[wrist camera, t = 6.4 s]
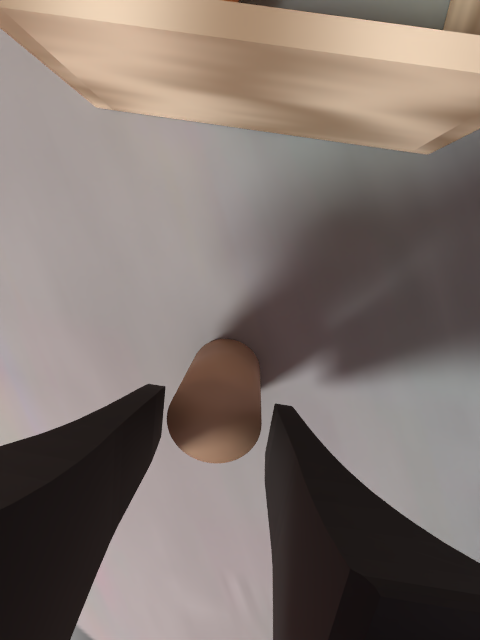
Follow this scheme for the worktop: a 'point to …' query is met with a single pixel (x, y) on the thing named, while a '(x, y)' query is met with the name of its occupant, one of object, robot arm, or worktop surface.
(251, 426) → the lid
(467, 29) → the box
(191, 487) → the worktop surface
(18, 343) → the worktop surface
